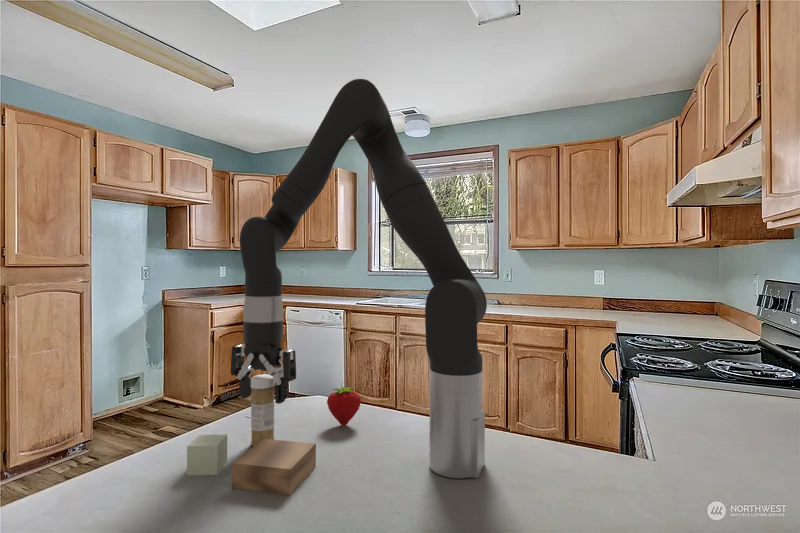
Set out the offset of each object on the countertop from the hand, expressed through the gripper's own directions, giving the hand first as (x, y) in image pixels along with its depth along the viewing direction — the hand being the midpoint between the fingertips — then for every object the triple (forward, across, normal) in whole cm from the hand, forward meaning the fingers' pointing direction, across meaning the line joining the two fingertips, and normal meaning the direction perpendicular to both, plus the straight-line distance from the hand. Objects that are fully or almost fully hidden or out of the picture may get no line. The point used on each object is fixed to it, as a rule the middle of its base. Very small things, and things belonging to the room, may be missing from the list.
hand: (262, 399), depth 87 cm
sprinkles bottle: (+9, 0, 0) cm, 9 cm away
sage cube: (+9, +2, +12) cm, 15 cm away
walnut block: (+9, -11, +10) cm, 17 cm away
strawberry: (+9, -10, -15) cm, 20 cm away
